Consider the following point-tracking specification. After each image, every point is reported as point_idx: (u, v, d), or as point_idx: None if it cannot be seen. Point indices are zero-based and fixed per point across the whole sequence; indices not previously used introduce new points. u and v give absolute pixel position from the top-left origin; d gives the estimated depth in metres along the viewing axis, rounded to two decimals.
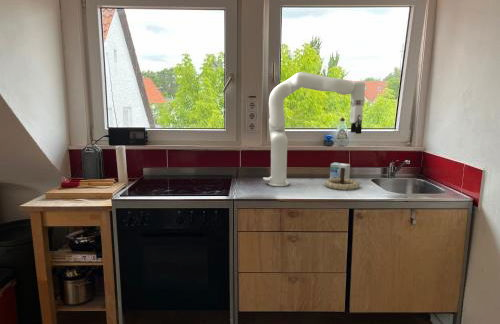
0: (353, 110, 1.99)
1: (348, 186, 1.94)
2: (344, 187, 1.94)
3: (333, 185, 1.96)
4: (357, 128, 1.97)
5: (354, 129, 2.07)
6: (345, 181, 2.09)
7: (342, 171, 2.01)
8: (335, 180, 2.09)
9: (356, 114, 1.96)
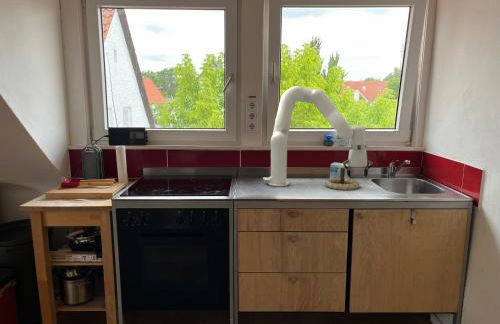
0: None
1: (348, 186, 1.94)
2: (344, 187, 1.94)
3: (333, 185, 1.96)
4: None
5: (365, 173, 2.02)
6: (345, 181, 2.09)
7: (342, 171, 2.01)
8: (335, 180, 2.09)
9: (348, 157, 2.02)
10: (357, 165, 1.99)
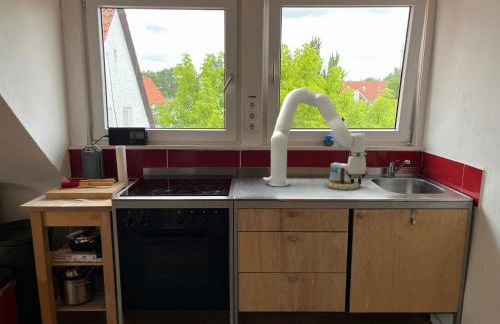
0: None
1: (348, 186, 1.94)
2: (344, 187, 1.94)
3: (333, 185, 1.96)
4: None
5: (358, 182, 2.03)
6: (345, 181, 2.09)
7: (342, 171, 2.01)
8: (335, 180, 2.09)
9: (347, 164, 2.03)
10: (356, 172, 2.00)
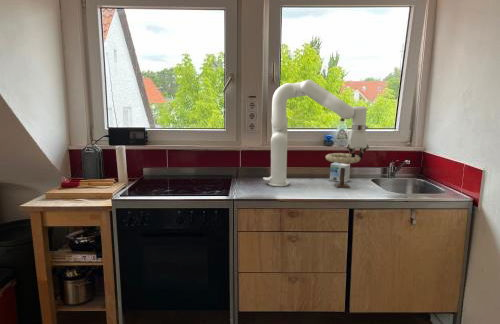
0: None
1: (349, 159, 1.91)
2: (345, 160, 1.91)
3: (334, 158, 1.94)
4: None
5: None
6: (346, 156, 2.06)
7: (342, 171, 2.01)
8: (336, 155, 2.07)
9: (348, 138, 2.00)
10: (357, 146, 1.97)
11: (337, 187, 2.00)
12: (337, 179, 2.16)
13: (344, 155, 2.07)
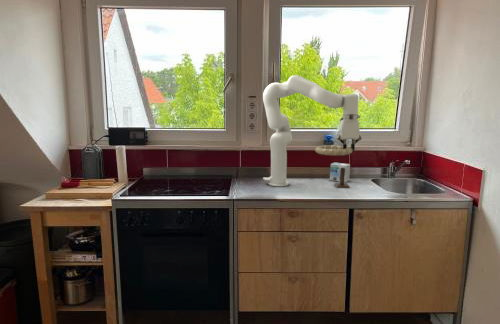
0: None
1: (340, 151, 1.78)
2: (336, 152, 1.78)
3: (324, 150, 1.80)
4: None
5: None
6: (337, 148, 1.93)
7: (342, 171, 2.01)
8: (326, 147, 1.93)
9: (339, 129, 1.87)
10: (349, 137, 1.84)
11: (337, 187, 2.00)
12: (337, 179, 2.16)
13: (335, 147, 1.93)
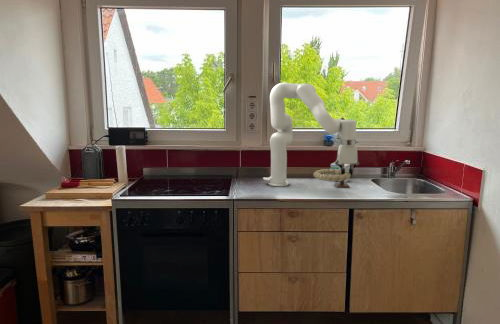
0: None
1: (338, 177, 1.79)
2: (333, 178, 1.79)
3: (322, 176, 1.81)
4: None
5: None
6: (335, 172, 1.94)
7: None
8: (325, 171, 1.94)
9: None
10: (347, 162, 1.85)
11: (337, 187, 2.00)
12: None
13: (334, 171, 1.94)
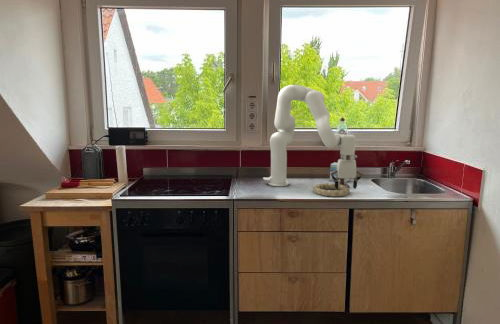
0: None
1: (337, 192, 1.80)
2: (333, 193, 1.80)
3: (321, 191, 1.83)
4: None
5: (354, 185, 1.89)
6: (335, 187, 1.95)
7: None
8: (324, 185, 1.96)
9: None
10: (345, 176, 1.86)
11: None
12: None
13: (333, 186, 1.96)
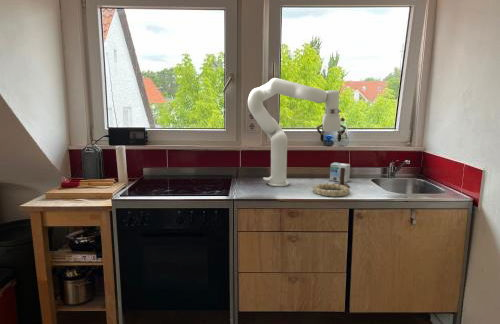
0: None
1: (337, 192, 1.80)
2: (333, 193, 1.80)
3: (321, 191, 1.83)
4: None
5: (338, 138, 2.01)
6: (335, 187, 1.95)
7: (342, 171, 2.01)
8: (324, 185, 1.96)
9: (322, 122, 2.02)
10: (330, 129, 1.99)
11: None
12: (337, 179, 2.16)
13: (333, 186, 1.96)
